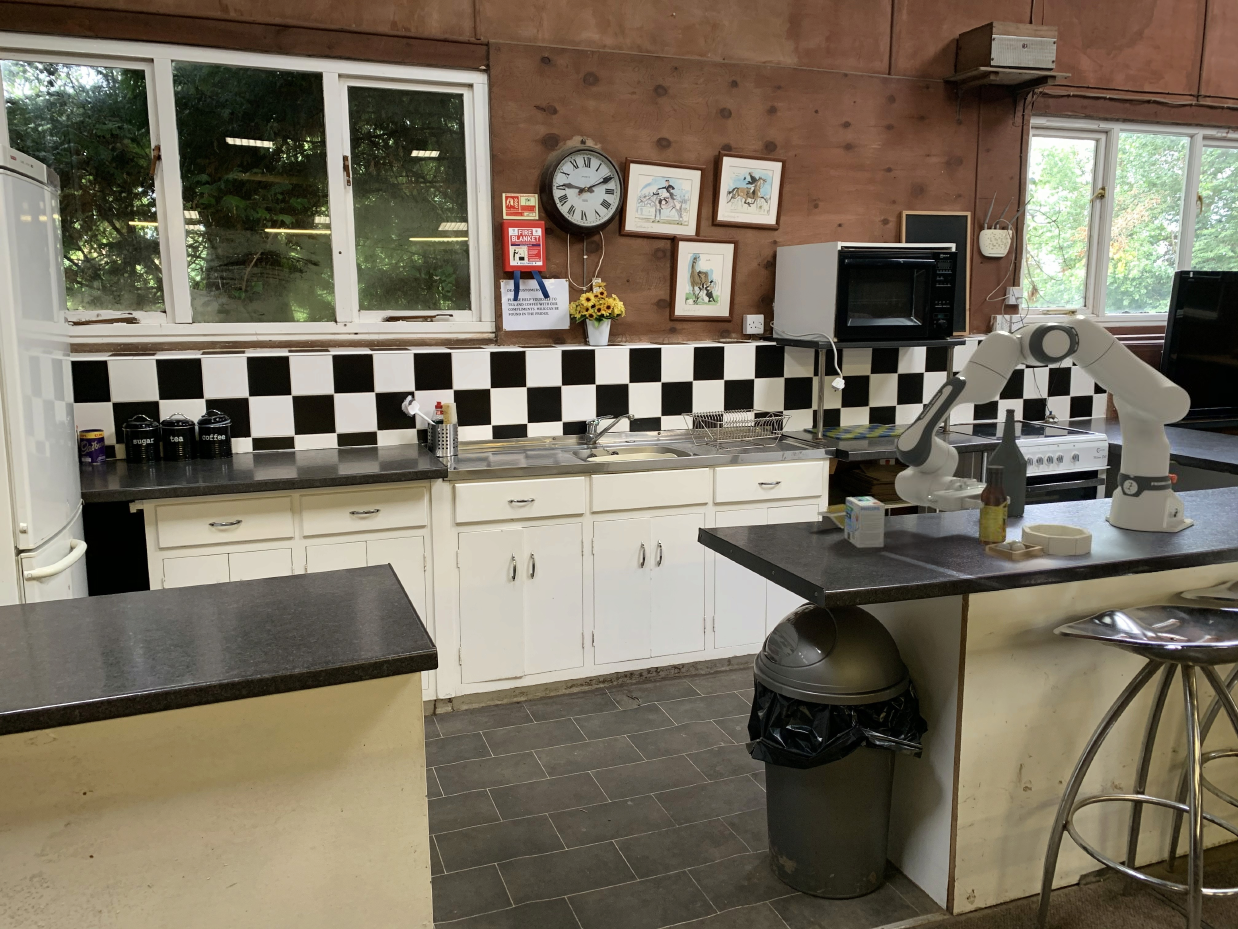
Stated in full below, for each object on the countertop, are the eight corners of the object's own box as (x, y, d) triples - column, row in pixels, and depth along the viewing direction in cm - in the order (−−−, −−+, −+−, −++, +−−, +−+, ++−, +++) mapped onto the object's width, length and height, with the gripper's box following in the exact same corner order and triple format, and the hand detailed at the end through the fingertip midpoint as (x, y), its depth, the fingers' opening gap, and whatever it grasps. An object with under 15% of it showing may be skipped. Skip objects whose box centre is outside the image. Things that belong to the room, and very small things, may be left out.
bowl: (1046, 540, 234) (1048, 521, 233) (1101, 553, 222) (1103, 532, 221) (1009, 548, 227) (1010, 528, 226) (1063, 561, 215) (1065, 540, 214)
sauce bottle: (1007, 550, 226) (1012, 469, 222) (980, 549, 227) (984, 468, 224) (1002, 543, 232) (1006, 464, 229) (975, 542, 233) (980, 464, 230)
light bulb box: (843, 537, 240) (845, 496, 238) (869, 537, 240) (870, 496, 239) (858, 548, 229) (859, 505, 228) (884, 547, 230) (886, 504, 228)
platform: (876, 530, 249) (877, 506, 248) (824, 539, 241) (825, 514, 240) (845, 521, 259) (846, 498, 258) (794, 529, 251) (795, 505, 250)
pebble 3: (1016, 553, 219) (1017, 541, 219) (1028, 556, 216) (1028, 544, 216) (1008, 555, 218) (1009, 543, 217) (1019, 558, 215) (1020, 545, 215)
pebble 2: (1014, 550, 222) (1015, 538, 222) (1026, 553, 220) (1026, 540, 219) (1006, 552, 221) (1007, 539, 220) (1017, 554, 218) (1018, 542, 218)
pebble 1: (1001, 552, 220) (1002, 540, 220) (1012, 555, 218) (1013, 543, 217) (993, 554, 219) (994, 542, 218) (1004, 557, 216) (1005, 544, 216)
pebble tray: (1012, 551, 224) (1013, 540, 224) (1042, 558, 217) (1043, 547, 217) (985, 557, 219) (985, 545, 219) (1014, 565, 212) (1015, 553, 212)
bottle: (1031, 516, 262) (1038, 409, 257) (1004, 519, 259) (1010, 411, 254) (1005, 509, 272) (1011, 406, 267) (977, 512, 268) (983, 408, 263)
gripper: (921, 486, 233) (967, 495, 222) (976, 478, 244) (1022, 486, 232) (920, 511, 234) (966, 521, 223) (975, 501, 245) (1021, 510, 233)
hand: (995, 503), depth 227 cm, fingers open, 8 cm apart
